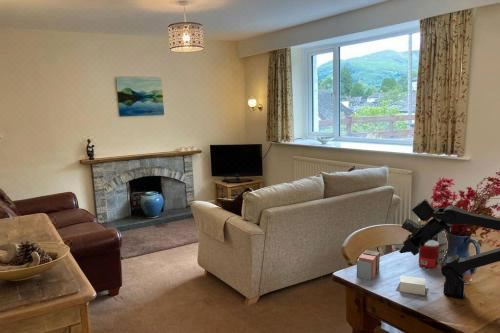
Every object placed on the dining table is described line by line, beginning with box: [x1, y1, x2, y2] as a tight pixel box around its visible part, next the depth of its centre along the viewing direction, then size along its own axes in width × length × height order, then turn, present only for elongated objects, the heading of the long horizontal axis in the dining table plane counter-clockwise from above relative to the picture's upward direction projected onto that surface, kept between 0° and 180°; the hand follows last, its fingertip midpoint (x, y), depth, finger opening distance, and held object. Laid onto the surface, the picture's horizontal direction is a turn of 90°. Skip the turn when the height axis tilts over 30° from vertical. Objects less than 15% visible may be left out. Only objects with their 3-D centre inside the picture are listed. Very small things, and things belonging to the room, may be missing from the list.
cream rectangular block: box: [399, 275, 426, 295], centre depth 158 cm, size 9×6×4 cm, turn 68°
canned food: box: [418, 240, 439, 270], centre depth 180 cm, size 8×8×11 cm
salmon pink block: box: [358, 253, 376, 280], centre depth 171 cm, size 6×4×9 cm, turn 58°
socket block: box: [356, 250, 372, 281], centre depth 174 cm, size 6×11×8 cm, turn 148°
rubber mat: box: [395, 282, 430, 299], centre depth 159 cm, size 11×8×1 cm
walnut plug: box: [362, 249, 381, 275], centre depth 175 cm, size 6×4×9 cm, turn 58°
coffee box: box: [424, 219, 447, 260], centre depth 191 cm, size 9×6×16 cm
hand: (399, 252), depth 163 cm, fingers closed
